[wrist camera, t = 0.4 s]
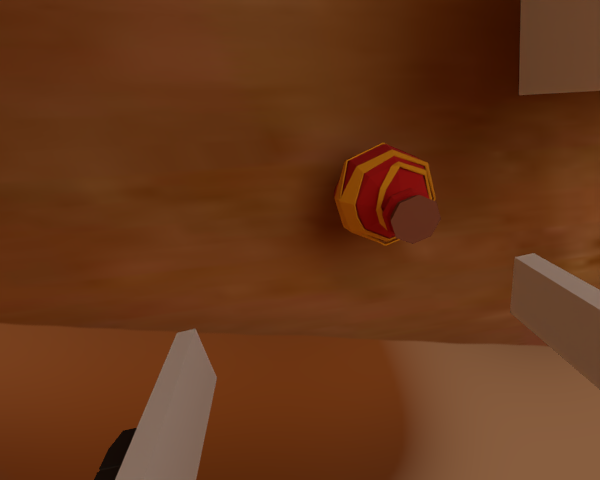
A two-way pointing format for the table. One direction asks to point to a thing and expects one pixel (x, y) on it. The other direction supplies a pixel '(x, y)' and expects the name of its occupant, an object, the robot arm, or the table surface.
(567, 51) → the white lidded container
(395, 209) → the potion bottle
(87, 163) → the table surface
